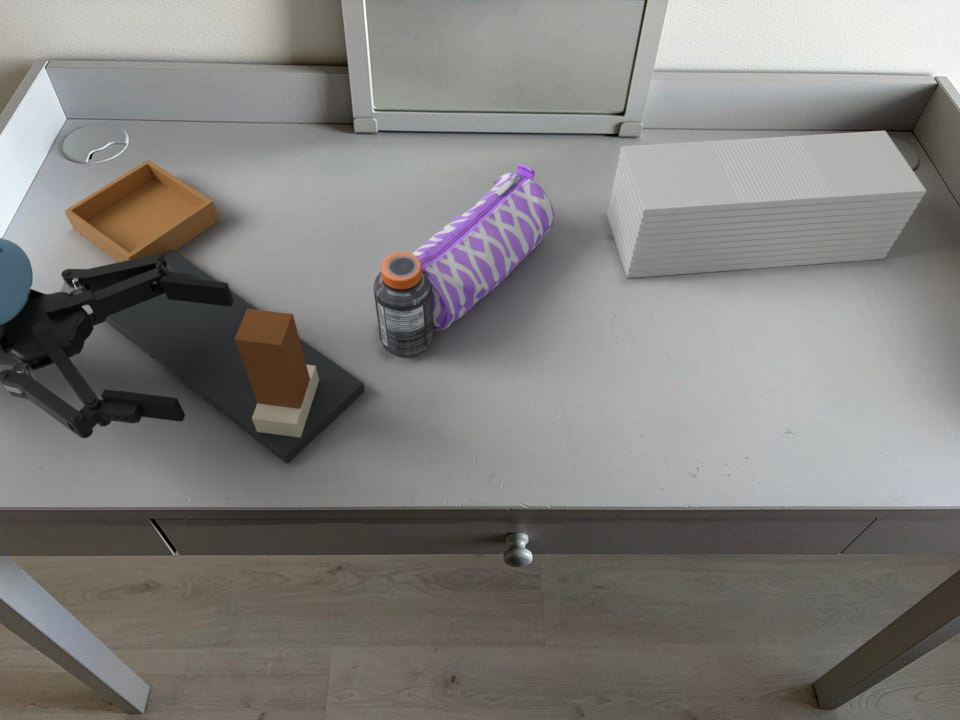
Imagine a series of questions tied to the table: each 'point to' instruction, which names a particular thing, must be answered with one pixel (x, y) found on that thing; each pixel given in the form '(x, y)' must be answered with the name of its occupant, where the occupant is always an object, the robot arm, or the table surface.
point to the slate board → (226, 360)
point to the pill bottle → (404, 305)
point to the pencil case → (484, 244)
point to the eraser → (276, 371)
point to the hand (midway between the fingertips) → (206, 349)
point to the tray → (142, 214)
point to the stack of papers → (759, 202)
